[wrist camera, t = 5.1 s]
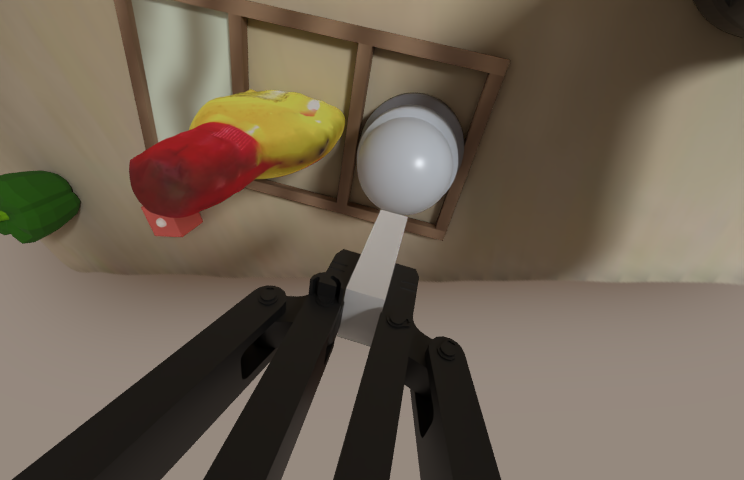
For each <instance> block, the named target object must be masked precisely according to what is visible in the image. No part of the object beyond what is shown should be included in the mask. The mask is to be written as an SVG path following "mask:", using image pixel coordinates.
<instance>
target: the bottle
mask: <svg viewBox="0 0 744 480" xmlns="http://www.w3.org/2000/svg"><path fill="white" fill-rule="evenodd" d="M344 126H345V117H344V115H343V113H342V112H341V111H340V110H339V109H338V108H336V107H334V106H331V105H328V104H326V103H325V102H323V101H321V100H315V99H312V98H310V97H307V96H305V95H302V94H300V93H296V92H283V91H278V90H268V91H261V92H256V91H254V90H252V89H250V90H248V91H246V92H242V93H237V94H233V95H230V96H224V97H218V98H215V99H212V100H210V101H208V102H207V103H206V104H205V105H203V106H202V107H201V109H200V110H199V111H198V113H197V114H196V116H195V117H194V119H193V121H192V123H191V125H190V128H189V130H188V131H185V132H182V133H179V134H177V135H175V136H172V137H169V138H166V139H164V140H162V141H160V142H158V143H157V144H155V145H153V146H152V147H150V148H149V149H147V150H145V151H144V152H143V153H141V154H140V155H137V156H136V157H134V158H133V159H131V160H130V165H129V174H130V182H131V187H132V190H133V192H134V194H135V196H136V197H137V199H138V200H139V202H140V203H141V204H142V205H143V206H144V207H145V208H146V209H147V210H148V211H149V212H151V213H154V214H157V215H160V216H165V217H169V218H183V217H187V216H190V215H193V214H196V213H198V212H200V211H202V210H204V209H207V208H210V207H212V206H214V205H217V204H219V203H221V202H223V201H224V200H226V199H227V198H229V197H230V196H231V195H233V194H235V193H237V192H240V191H241V190H242V189H243V188H245V187H246V186H247V185H248V184H250V183H251V182H252V181H254V180H255V179H267V178H275V177H281V176H284V175H288V174H291V173H294V172H296V171H299V170H301V169H304V168H306V167H308V166H310V165H312V164H313V163H315V162H317V161H318V160H320V159H321V158H323V157H324V156H325V155H327V154H328V153H329V152H330V151H331V150H332V148H333V147H334V146H335V144H336V143H337V141H338V140H339V139H340V137H341V135H342V133H343V130H344Z"/></svg>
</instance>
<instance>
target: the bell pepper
mask: <svg viewBox="0 0 744 480" xmlns="http://www.w3.org/2000/svg"><path fill="white" fill-rule="evenodd" d="M79 208H80V200H79V199H78V197H77V196H76V195H75V194H74V193H73V192H72V190H71V187H70V185H69V184H68V182H67V181H66V180H65V179H63V178H62V177H61V176H59V175H58V174H55V173H51V172H46V171H27V172H18V173H9V174H4V175H0V233H1V234H3V235H8V234H12V236H13V237H15V238H16V239H17V240H18V241H20V242H21V243H31V242H36V241H38V240H40V239H42V238H44V237H45V236H47V235H49V234H51V233H53V232H54V231H56V230H57V229H59V228H61V227H62V226H63V225H64V224H65V223H67V222H68V221H69V220H70V219H71V218H73V217H74V216H75V215H76V214H77V213H78V210H79Z"/></svg>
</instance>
